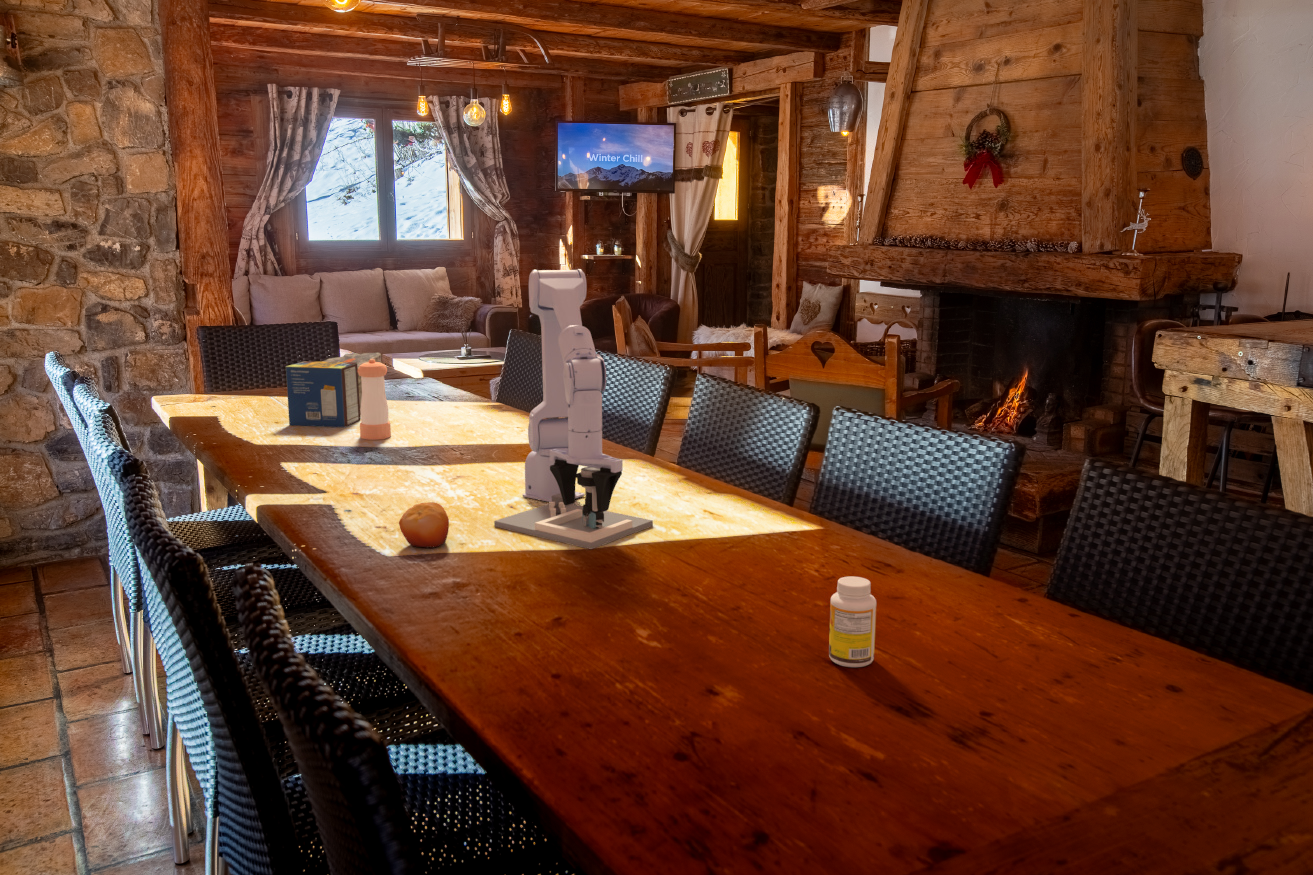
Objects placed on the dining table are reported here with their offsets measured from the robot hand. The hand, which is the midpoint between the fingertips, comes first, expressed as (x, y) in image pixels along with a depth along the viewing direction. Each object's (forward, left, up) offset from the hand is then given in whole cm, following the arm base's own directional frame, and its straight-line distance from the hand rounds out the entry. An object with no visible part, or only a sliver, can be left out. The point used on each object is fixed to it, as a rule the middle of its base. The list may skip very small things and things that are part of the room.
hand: (585, 507), depth 186 cm
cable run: (-11, +6, -4) cm, 13 cm away
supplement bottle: (+61, -22, -5) cm, 65 cm away
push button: (+1, +1, -4) cm, 4 cm away
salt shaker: (-94, +32, -5) cm, 99 cm away
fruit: (-17, -21, -5) cm, 27 cm away
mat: (-4, +2, -5) cm, 7 cm away
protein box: (-119, +36, -5) cm, 124 cm away
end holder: (0, 0, -4) cm, 4 cm away
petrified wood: (-135, +56, -5) cm, 146 cm away
